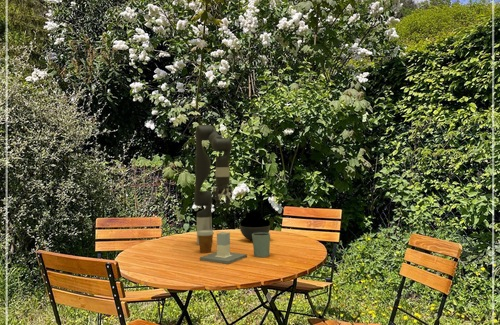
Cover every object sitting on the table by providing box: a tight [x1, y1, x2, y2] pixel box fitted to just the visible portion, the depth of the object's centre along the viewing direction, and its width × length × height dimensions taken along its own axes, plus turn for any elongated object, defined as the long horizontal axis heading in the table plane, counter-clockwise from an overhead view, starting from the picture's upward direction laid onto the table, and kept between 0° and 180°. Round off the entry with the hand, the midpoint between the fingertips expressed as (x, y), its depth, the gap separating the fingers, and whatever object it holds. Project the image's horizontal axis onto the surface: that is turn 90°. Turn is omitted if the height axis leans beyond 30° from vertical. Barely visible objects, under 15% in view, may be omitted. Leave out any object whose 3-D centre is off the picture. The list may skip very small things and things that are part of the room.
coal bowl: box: [239, 210, 271, 242], centre depth 282 cm, size 20×20×19 cm
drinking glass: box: [252, 232, 271, 258], centre depth 239 cm, size 10×10×12 cm
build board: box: [199, 251, 248, 265], centre depth 233 cm, size 18×18×2 cm
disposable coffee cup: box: [196, 230, 214, 254], centre depth 250 cm, size 10×10×12 cm
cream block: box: [216, 243, 231, 257], centre depth 232 cm, size 5×5×6 cm
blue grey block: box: [216, 231, 231, 246], centre depth 233 cm, size 5×5×6 cm
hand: (222, 206), depth 232 cm, fingers open, 8 cm apart
